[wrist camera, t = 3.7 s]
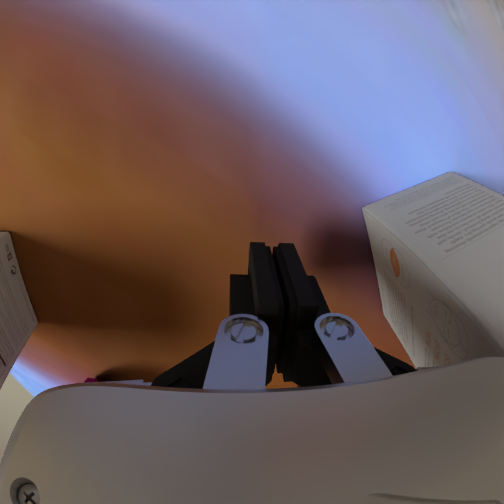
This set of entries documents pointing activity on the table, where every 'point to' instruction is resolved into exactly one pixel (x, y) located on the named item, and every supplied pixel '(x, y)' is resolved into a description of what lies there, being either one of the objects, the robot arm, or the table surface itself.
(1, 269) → the supplement box
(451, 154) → the table surface
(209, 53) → the table surface
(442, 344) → the small box
